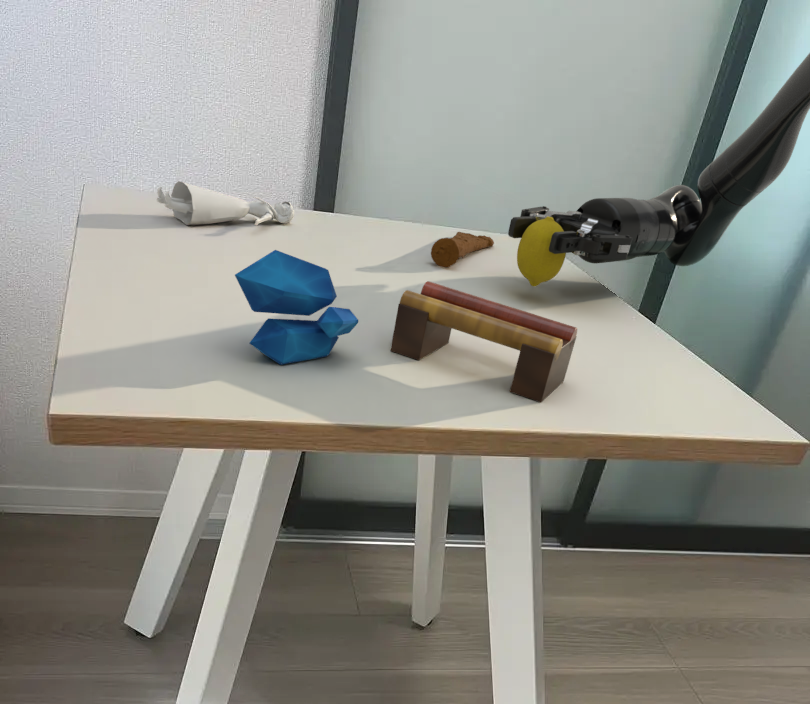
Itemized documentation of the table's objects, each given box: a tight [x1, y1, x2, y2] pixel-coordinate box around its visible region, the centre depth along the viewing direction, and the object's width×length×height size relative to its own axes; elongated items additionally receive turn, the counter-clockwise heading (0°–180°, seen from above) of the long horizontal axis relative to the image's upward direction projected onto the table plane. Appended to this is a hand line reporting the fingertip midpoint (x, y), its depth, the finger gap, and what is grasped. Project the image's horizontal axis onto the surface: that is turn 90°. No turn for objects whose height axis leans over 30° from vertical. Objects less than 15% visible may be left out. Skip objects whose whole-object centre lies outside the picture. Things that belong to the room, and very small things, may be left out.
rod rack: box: [390, 280, 578, 403], centre depth 82 cm, size 15×7×6 cm, turn 64°
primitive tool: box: [430, 231, 495, 268], centre depth 118 cm, size 19×6×4 cm, turn 165°
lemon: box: [516, 217, 567, 287], centre depth 103 cm, size 6×6×8 cm
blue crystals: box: [234, 249, 359, 366], centre depth 75 cm, size 7×9×12 cm
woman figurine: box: [156, 180, 295, 226], centre depth 111 cm, size 12×4×18 cm
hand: (532, 235), depth 100 cm, fingers closed on lemon, 5 cm apart
